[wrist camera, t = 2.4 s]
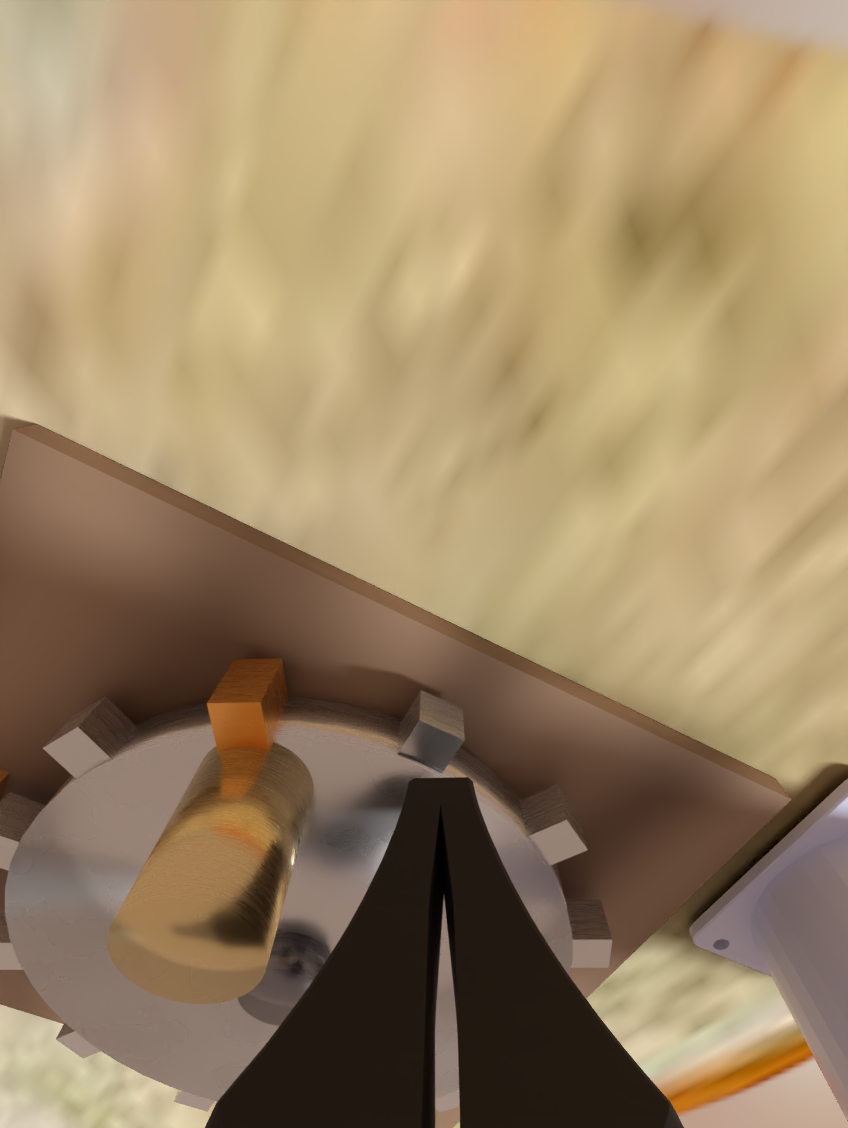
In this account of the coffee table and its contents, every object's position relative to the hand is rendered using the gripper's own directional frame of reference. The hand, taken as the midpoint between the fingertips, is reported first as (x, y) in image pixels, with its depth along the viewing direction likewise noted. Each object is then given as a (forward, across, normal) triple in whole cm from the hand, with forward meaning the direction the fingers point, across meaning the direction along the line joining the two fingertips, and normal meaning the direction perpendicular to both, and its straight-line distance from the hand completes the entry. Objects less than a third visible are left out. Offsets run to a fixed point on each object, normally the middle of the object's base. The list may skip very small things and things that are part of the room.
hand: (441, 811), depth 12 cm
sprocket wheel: (+2, +5, +7) cm, 8 cm away
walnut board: (+4, +4, +6) cm, 9 cm away
